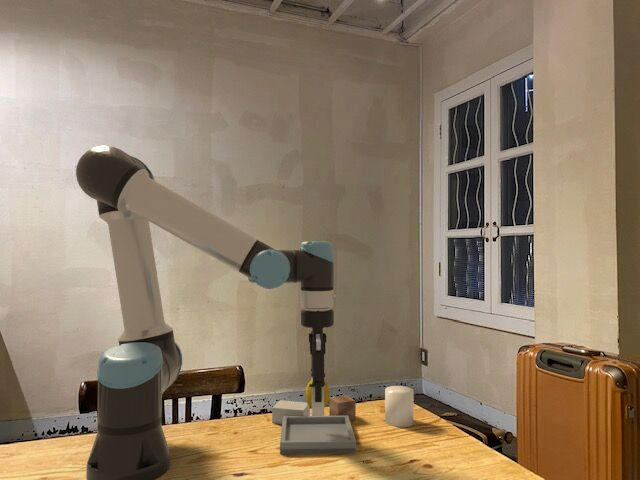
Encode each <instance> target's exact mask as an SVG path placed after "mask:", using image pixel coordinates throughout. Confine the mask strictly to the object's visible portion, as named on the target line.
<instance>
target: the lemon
mask: <svg viewBox="0 0 640 480" xmlns="http://www.w3.org/2000/svg"><path fill="white" fill-rule="evenodd" d="M312 382H313V379H312V380H311V379H310V381H309V382H308V383H307V385H306V388H305V401H306V403H307V404H308V405H309V407H310V409H312V387H309V384H312ZM324 382H325V386H324V409H325V408H326V407H327V406H328V404H329V398H330V397H331V396H330V395H331V393H330V387H329V385H328V382H326V381H325V380H324Z"/></svg>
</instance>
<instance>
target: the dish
mask: <svg viewBox="0 0 640 480" xmlns="http://www.w3.org/2000/svg"><path fill="white" fill-rule="evenodd" d="M279 439H280V440H279V455H304V454H305V455H307V454H308V455H311V454H314V455H315V454H324V455H325V454H356V453H357V441H356V440H357V439H356V437H355V433H354V430H353V427H352V424H351V421H350V420H349V416H348V415H343V416H329V415H324V416H312V415H310V416H283V419H282V424H281V431H280V438H279Z"/></svg>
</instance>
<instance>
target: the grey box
mask: <svg viewBox="0 0 640 480" xmlns="http://www.w3.org/2000/svg"><path fill="white" fill-rule="evenodd" d="M271 410H272V411H271V412H272V413H271V417H272V419H271V423H272V424H278V425H279V424H280V425H282V419H283V416H311V413H310V411H311V408H310V407H309V405H308V404H307V402H304V401H294V400H293V401H292V400H281V399H280V400H279V401H278V402H277V403H275V404H274V406H272V409H271Z"/></svg>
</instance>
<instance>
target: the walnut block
mask: <svg viewBox="0 0 640 480" xmlns="http://www.w3.org/2000/svg"><path fill="white" fill-rule="evenodd" d="M356 402H357V401H356V400H355V399H353V398H352V397H350V396H349V394H348V395H347V394H345V395H337V396H330V398H329V402H328V404H329V410H328V411H329V413H328V414H329V415H328V416H343V415H348V416H349V420H350V422H352V421H353V422H354V421H356V419H357V418H356V413H357V411H356Z"/></svg>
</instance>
